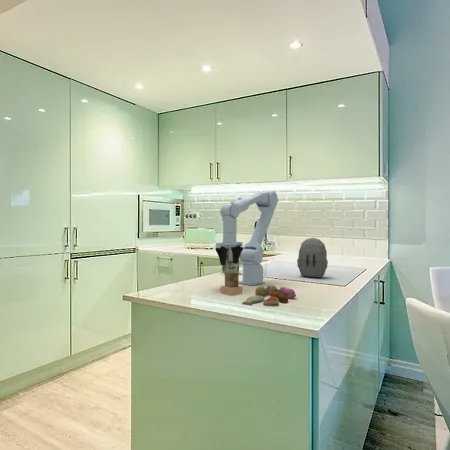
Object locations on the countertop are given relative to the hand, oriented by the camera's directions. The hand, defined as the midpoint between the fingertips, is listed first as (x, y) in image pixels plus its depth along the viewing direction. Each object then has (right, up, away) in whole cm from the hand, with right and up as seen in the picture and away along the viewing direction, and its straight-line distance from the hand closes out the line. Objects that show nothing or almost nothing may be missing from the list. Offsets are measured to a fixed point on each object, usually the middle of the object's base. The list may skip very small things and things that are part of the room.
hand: (229, 264), depth 149 cm
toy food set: (+16, -11, -19) cm, 27 cm away
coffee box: (+1, -9, +38) cm, 39 cm away
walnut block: (+1, -8, -10) cm, 13 cm away
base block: (+1, -11, -10) cm, 15 cm away
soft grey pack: (+42, -10, +29) cm, 52 cm away
